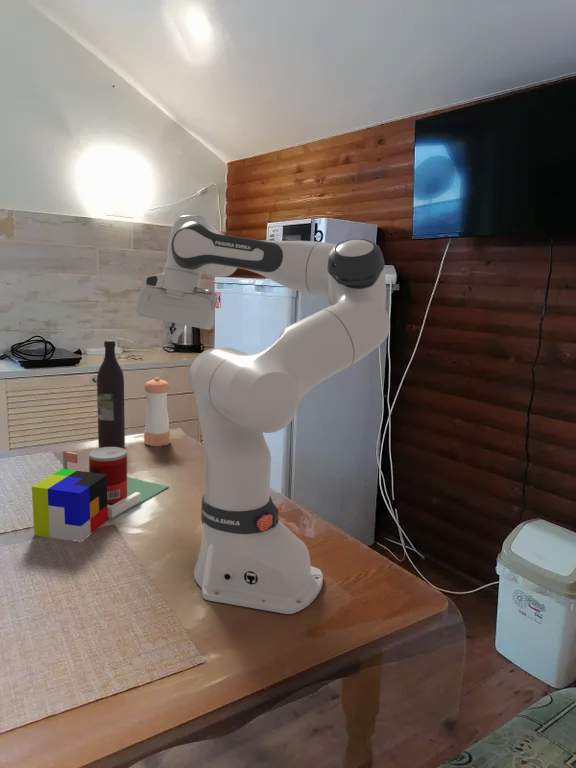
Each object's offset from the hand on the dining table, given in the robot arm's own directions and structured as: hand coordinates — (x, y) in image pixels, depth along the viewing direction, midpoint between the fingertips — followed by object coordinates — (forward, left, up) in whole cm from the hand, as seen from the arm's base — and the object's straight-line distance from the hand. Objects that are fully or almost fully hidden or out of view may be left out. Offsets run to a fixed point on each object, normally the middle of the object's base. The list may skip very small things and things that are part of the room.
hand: (170, 341), depth 143 cm
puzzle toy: (-1, +35, -33) cm, 48 cm away
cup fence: (+1, +23, -33) cm, 40 cm away
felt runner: (+1, +19, -33) cm, 38 cm away
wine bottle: (+24, -7, -33) cm, 42 cm away
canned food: (+1, +21, -33) cm, 39 cm away
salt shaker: (+16, -17, -33) cm, 41 cm away
